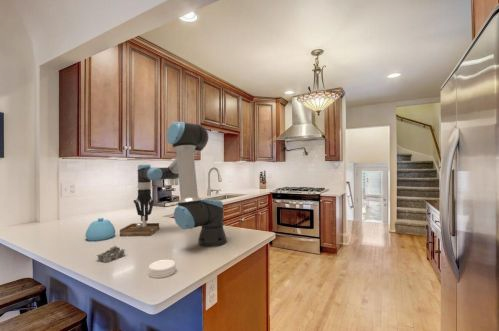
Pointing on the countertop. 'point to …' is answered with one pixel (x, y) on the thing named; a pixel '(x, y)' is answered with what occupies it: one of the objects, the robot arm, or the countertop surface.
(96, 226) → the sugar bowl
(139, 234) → the tray
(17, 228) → the countertop surface
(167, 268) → the coaster
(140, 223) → the ball
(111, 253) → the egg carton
